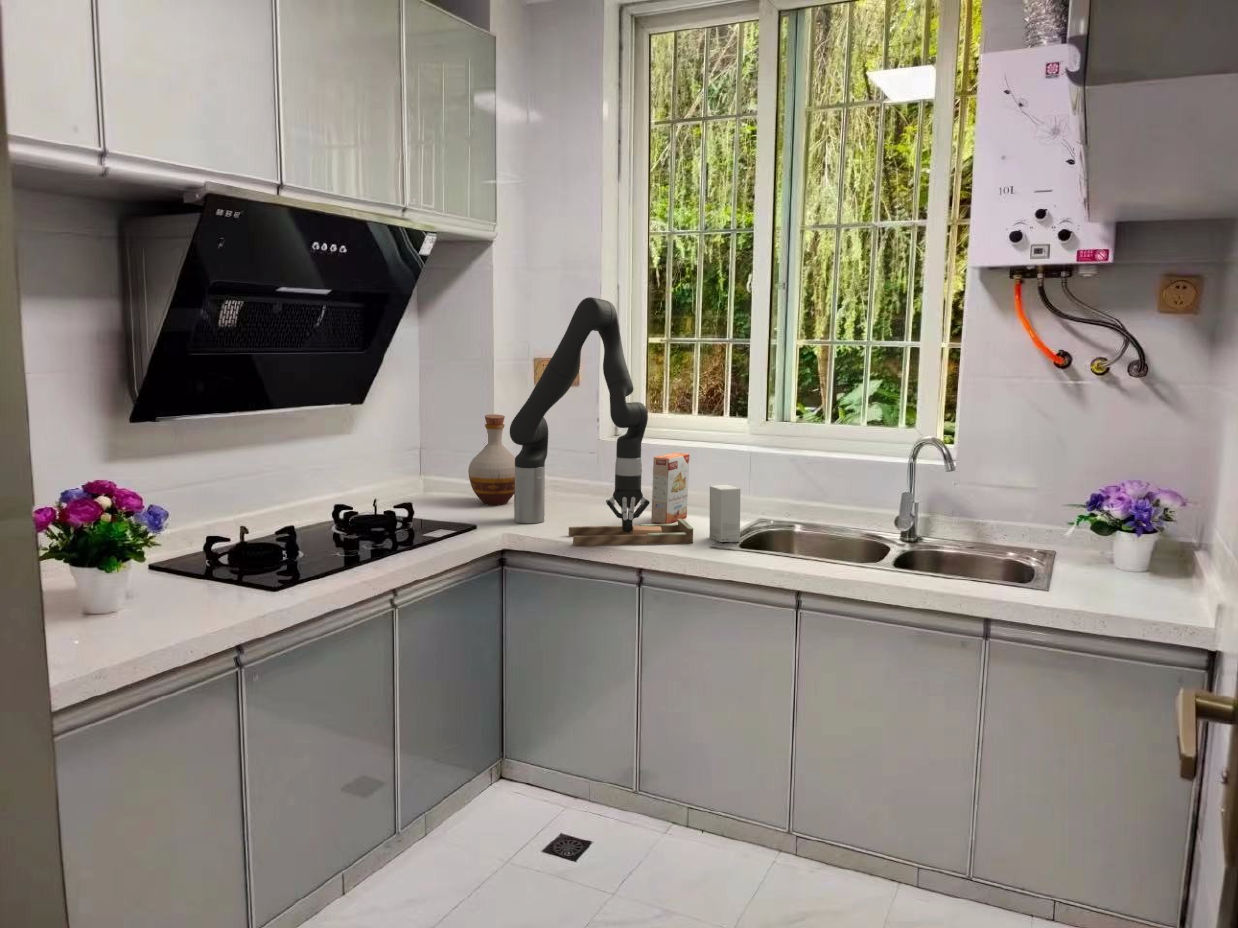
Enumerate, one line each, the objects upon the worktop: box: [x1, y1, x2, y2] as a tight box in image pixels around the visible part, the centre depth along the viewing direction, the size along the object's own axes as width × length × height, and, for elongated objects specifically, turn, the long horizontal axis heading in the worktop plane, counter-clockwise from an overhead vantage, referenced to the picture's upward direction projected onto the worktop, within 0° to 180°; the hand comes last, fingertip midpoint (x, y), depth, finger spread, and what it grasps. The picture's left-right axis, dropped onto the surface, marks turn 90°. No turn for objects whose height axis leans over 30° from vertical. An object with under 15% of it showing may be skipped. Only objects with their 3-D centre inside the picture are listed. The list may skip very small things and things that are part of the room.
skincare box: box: [709, 484, 741, 543], centre depth 267 cm, size 8×7×16 cm
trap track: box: [568, 518, 694, 547], centre depth 266 cm, size 34×13×4 cm, turn 99°
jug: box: [467, 413, 516, 506], centre depth 314 cm, size 20×18×30 cm
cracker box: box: [650, 452, 690, 524], centre depth 291 cm, size 14×6×21 cm, turn 148°
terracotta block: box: [632, 525, 662, 535], centre depth 265 cm, size 8×5×4 cm, turn 92°
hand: (627, 532), depth 266 cm, fingers closed
